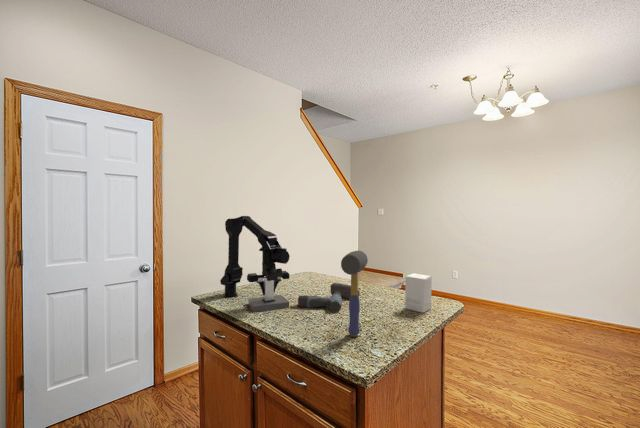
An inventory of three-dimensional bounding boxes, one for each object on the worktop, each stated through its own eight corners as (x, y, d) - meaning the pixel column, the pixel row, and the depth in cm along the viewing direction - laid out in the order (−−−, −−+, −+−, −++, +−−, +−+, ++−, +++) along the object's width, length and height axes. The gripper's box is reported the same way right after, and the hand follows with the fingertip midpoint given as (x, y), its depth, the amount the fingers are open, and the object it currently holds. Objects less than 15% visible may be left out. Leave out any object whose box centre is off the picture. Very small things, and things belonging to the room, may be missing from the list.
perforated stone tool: (360, 298, 147) (361, 284, 147) (358, 301, 142) (358, 287, 142) (333, 294, 153) (333, 281, 153) (329, 297, 148) (329, 283, 148)
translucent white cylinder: (263, 298, 135) (263, 279, 135) (271, 297, 137) (271, 278, 137) (265, 300, 132) (265, 281, 131) (273, 299, 133) (273, 280, 133)
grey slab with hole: (248, 303, 136) (248, 298, 136) (281, 299, 143) (281, 294, 143) (253, 312, 125) (253, 306, 125) (289, 307, 132) (289, 301, 132)
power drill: (303, 298, 147) (342, 300, 145) (296, 311, 129) (341, 313, 126) (303, 287, 147) (342, 289, 145) (296, 299, 129) (341, 301, 126)
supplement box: (431, 308, 133) (432, 275, 133) (423, 313, 126) (424, 279, 126) (413, 303, 139) (413, 272, 139) (404, 308, 132) (404, 275, 132)
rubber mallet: (348, 327, 111) (349, 248, 110) (368, 330, 108) (369, 250, 107) (338, 340, 99) (339, 253, 99) (359, 344, 96) (360, 254, 96)
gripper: (251, 265, 123) (251, 302, 123) (293, 262, 130) (293, 297, 131) (246, 261, 133) (246, 295, 133) (285, 258, 141) (285, 290, 141)
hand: (268, 294), depth 134 cm, fingers closed on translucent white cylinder, 4 cm apart
